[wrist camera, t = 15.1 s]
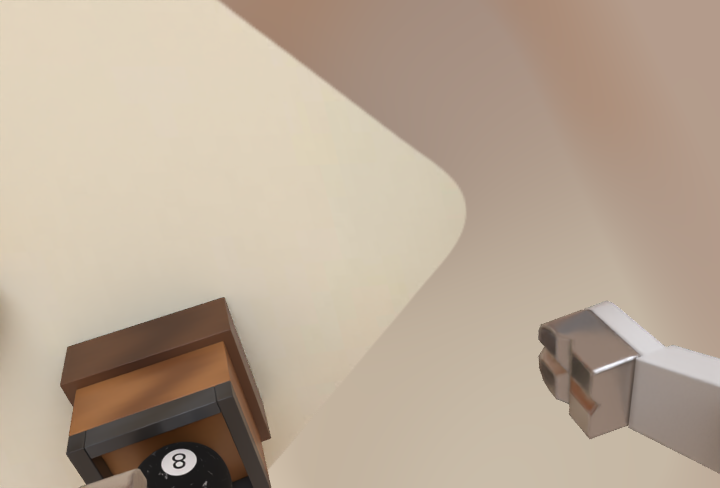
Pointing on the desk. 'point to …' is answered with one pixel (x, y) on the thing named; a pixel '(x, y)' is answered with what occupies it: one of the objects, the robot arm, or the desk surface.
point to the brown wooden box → (165, 396)
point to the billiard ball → (185, 467)
